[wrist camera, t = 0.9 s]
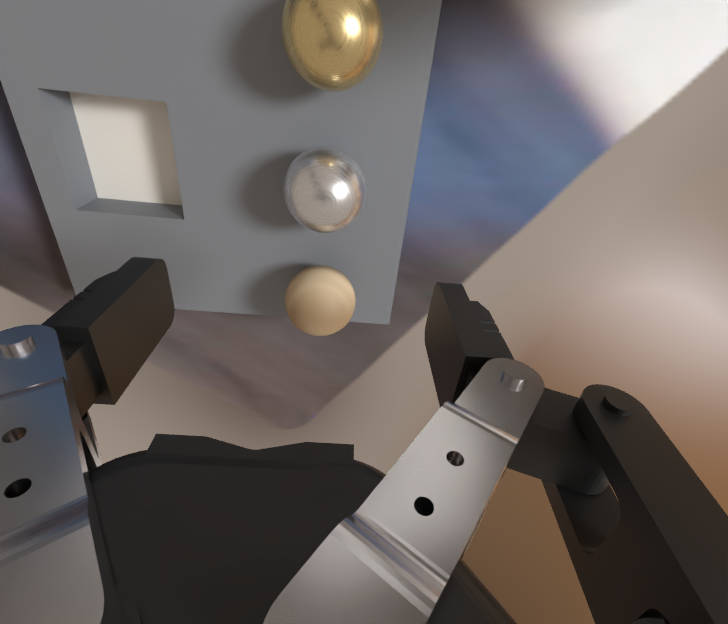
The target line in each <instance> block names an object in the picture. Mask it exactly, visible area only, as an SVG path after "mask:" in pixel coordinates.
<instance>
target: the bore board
mask: <svg viewBox="0 0 728 624" xmlns="http://www.w3.org/2000/svg"><path fill="white" fill-rule="evenodd" d="M376 1H377V3H378V6H379V9H380V12H381V16H382V22H383V42H382V48H381V52H380V55H379V58H378V60H377V63H376V64H375V66H374V68H373V70H372V71H371V72H370V74H369V75H368V76H367V77H366V78H365V79H364V80H363V81H362V82H361V83H360V84H358V85H356V86H355V87H353V88H350V89H348V90H344V91H337V92H333V91H325V90H322V89H319V88H316V87H314V86H312V85H311V84H309V83H308V82H306V81H305V80H304V79H303V78H302V77H301V76H300V75H299V74H298V73H297V72H296V70H295V69H294V67H293V66H292V64H291V62H290V61H289V59H288V56H287V54H286V51H285V48H284V45H283V40H282V31H281V21H282V13H283V8H284V5H285V2H286V0H0V80H1V83H2V86H3V89H4V92H5V95H6V98H7V100H8V103H9V106H10V109H11V112H12V115H13V117H14V120H15V123H16V126H17V129H18V132H19V135H20V137H21V140H22V143H23V146H24V149H25V152H26V155H27V157H28V160H29V163H30V166H31V169H32V172H33V174H34V177H35V180H36V183H37V186H38V189H39V192H40V194H41V197H42V200H43V203H44V206H45V209H46V212H47V214H48V217H49V220H50V223H51V226H52V229H53V232H54V234H55V237H56V240H57V243H58V246H59V249H60V251H61V254H62V257H63V260H64V263H65V266H66V269H67V271H68V274H69V277H70V280H71V283H72V286H73V289H74V291H75V294H76V295H77V294H79V293H80V292H83V289H85V288H86V287H87V286H88V285H89V284H91V283H92V282H93V281H94V280H95V279H98V278H100V277H102V276H104V275H107V274H109V273H111V272H115V271H117V270H118V269H119V268H120V267H121V266H122V265H123V264H125V263H126V262H127V261H128V260H129V259H130V258H132V257H146V258H158V259H163V260H164V262H165V263H166V266H167V270H168V275H169V281H170V286H171V291H172V296H173V302H174V309H184V310H197V311H211V312H225V313H239V314H252V315H266V316H280V317H289V316H288V314H287V311H286V308H285V293H286V289H287V287H288V285H289V283H290V281H291V280H292V279H293V277H294V276H295V275H296V274H297V273H299V272H300V271H302V270H303V269H305V268H308V267H311V266H317V265H323V266H329V267H332V268H335V269H337V270H339V271H340V272H341V273H343V274H344V275H345V276H346V277H347V278H348V280H349V281H350V282H351V284H352V286H353V289H354V292H355V298H356V303H355V310H354V312H353V315H352V317H351V319H350V320H349V322H362V323H376V324H389V322H390V316H391V310H392V303H393V297H394V291H395V285H396V279H397V273H398V267H399V261H400V255H401V249H402V243H403V237H404V230H405V224H406V218H407V212H408V206H409V200H410V194H411V188H412V182H413V176H414V170H415V163H416V157H417V151H418V145H419V139H420V133H421V127H422V121H423V115H424V109H425V103H426V96H427V90H428V84H429V78H430V72H431V66H432V60H433V54H434V48H435V42H436V36H437V30H438V23H439V17H440V11H441V5H442V0H376ZM319 146H329V147H334V148H337V149H340V150H342V151H344V152H346V153H347V154H349V155H350V156H351V157H352V158H353V159H354V160H355V161H356V162H357V163H358V165H359V166H360V168H361V170H362V172H363V174H364V177H365V180H366V185H367V197H366V202H365V205H364V208H363V210H362V212H361V214H360V215H359V217H358V218H357V219H356V221H355V222H354V223H352V224H351V225H350V226H349V227H347V228H345V229H343V230H341V231H338V232H334V233H318V232H314V231H312V230H309V229H307V228H305V227H304V226H302V225H301V224H300V223H299V222H297V221H296V219H295V218H294V217H293V216H292V214H291V213H290V211H289V210H288V208H287V205H286V202H285V198H284V192H283V185H284V178H285V175H286V172H287V170H288V168H289V166H290V164H291V163H292V161H293V160H294V159H295V158H296V157H297V156H298V155H300V154H301V153H302V152H304V151H306V150H308V149H311V148H314V147H319Z"/></svg>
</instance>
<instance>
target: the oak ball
mask: <svg viewBox="0 0 728 624" xmlns="http://www.w3.org/2000/svg"><path fill="white" fill-rule="evenodd" d="M355 303H356V298H355V292H354V289H353V286H352V284H351V282H350V281H349V280H348V278H347V277H346V276H345V275H344V274H343V273H341V272H340V271H339V270H337V269H335V268H332V267H329V266H323V265H317V266H311V267H308V268H305V269H303V270H302V271H300V272H299V273H297V274H296V275H295V276H294V277H293V279H292V280H291V281H290V283H289V285H288V287H287V289H286V293H285V308H286V311H287V314H288V316H289V318H290V320H291V321H292V322H293V324H294V325H295V326H296V327H297V328H299V329H300V330H302V331H303V332H305V333H308V334H311V335H316V336H325V335H330V334H333V333H335V332H337V331H339V330H340V329H342V328H343V327H344V326H345V325H346V324H347V323H348V322H349V320H350V319H351V317H352V315H353V312H354V310H355Z"/></svg>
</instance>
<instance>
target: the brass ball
mask: <svg viewBox="0 0 728 624" xmlns="http://www.w3.org/2000/svg"><path fill="white" fill-rule="evenodd" d="M281 31H282V40H283V45H284V48H285V51H286V54H287V56H288V59H289V61H290V62H291V64H292V66H293V67H294V69H295V70H296V72H297V73H298V74H299V75H300V76H301V77H302V78H303V79H304V80H305V81H306V82H308V83H309V84H311V85H312V86H314V87H316V88H319V89H322V90H325V91H333V92H337V91H344V90H348V89H350V88H353V87H355V86H356V85H358V84H360V83H361V82H362V81H363V80H364V79H365V78H366V77H367V76H368V75H369V74H370V72H371V71H372V70H373V68H374V66H375V64H376V63H377V60H378V58H379V55H380V52H381V48H382V42H383V22H382V16H381V12H380V9H379V6H378V3H377V1H376V0H286V2H285V5H284V8H283V13H282V21H281Z"/></svg>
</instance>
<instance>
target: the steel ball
mask: <svg viewBox="0 0 728 624" xmlns="http://www.w3.org/2000/svg"><path fill="white" fill-rule="evenodd" d="M283 192H284V198H285V202H286V205H287V208H288V210H289V211H290V213H291V214H292V216H293V217H294V218H295V219H296V221H297V222H299V223H300V224H301V225H302V226H304V227H305V228H307V229H309V230H312V231H314V232H318V233H334V232H338V231H341V230H343V229H345V228H347V227H349V226H350V225H351V224H352V223H354V222H355V221H356V219H357V218H358V217H359V215H360V214H361V212H362V210H363V208H364V205H365V202H366V197H367V185H366V180H365V177H364V174H363V172H362V170H361V168H360V166H359V165H358V163H357V162H356V161H355V160H354V159H353V158H352V157H351V156H350V155H349V154H347V153H346V152H344V151H342V150H340V149H337V148H334V147H329V146H319V147H314V148H311V149H308V150H306V151H304V152H302V153H301V154H300V155H298V156H297V157H296V158H295V159H294V160H293V161H292V163H291V164H290V166H289V168H288V170H287V172H286V175H285V178H284V185H283Z"/></svg>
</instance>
